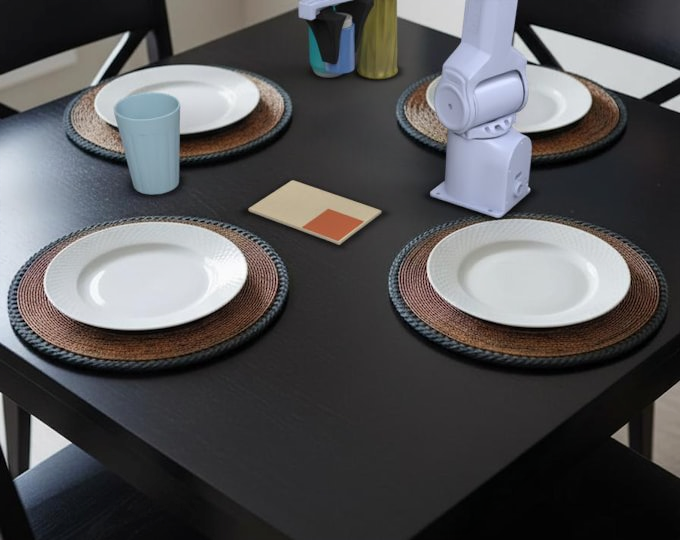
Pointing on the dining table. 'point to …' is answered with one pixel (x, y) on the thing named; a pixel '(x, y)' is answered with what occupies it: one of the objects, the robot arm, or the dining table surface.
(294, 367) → the dining table surface
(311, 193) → the place mat
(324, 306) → the dining table surface
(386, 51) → the vase
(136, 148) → the cup
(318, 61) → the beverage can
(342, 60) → the salt shaker
